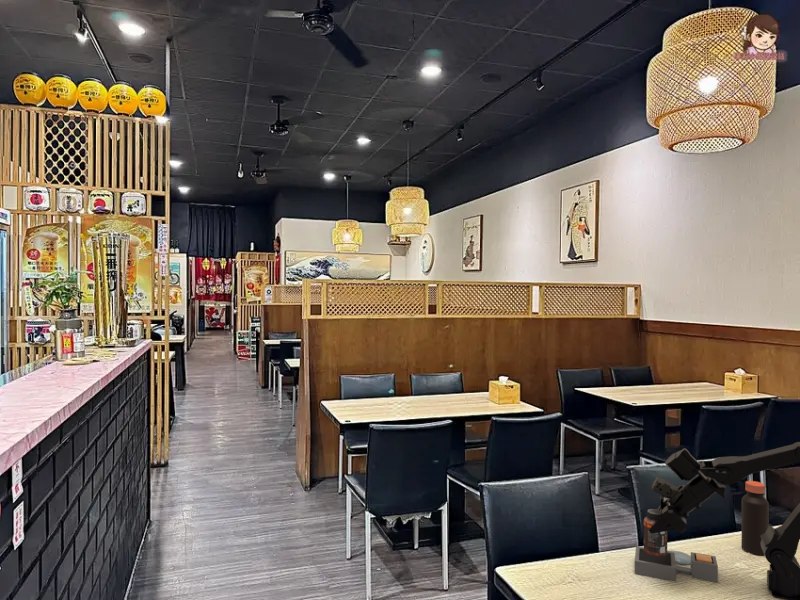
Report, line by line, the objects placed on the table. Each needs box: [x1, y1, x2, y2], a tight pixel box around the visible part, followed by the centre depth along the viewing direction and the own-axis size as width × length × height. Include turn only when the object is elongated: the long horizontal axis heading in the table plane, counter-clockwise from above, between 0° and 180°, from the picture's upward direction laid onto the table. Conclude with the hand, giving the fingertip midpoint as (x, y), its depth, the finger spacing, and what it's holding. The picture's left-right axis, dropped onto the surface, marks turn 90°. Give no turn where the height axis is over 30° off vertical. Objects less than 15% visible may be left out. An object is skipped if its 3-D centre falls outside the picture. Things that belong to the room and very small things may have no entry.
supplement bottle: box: [643, 508, 668, 556], centre depth 152 cm, size 6×6×11 cm
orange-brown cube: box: [695, 552, 712, 563], centre depth 149 cm, size 4×4×4 cm
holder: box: [634, 545, 719, 584], centre depth 150 cm, size 20×10×4 cm, turn 65°
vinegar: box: [740, 480, 770, 557], centre depth 164 cm, size 7×7×20 cm
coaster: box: [667, 550, 691, 566], centre depth 159 cm, size 8×8×1 cm
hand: (649, 527), depth 153 cm, fingers closed on supplement bottle, 6 cm apart
